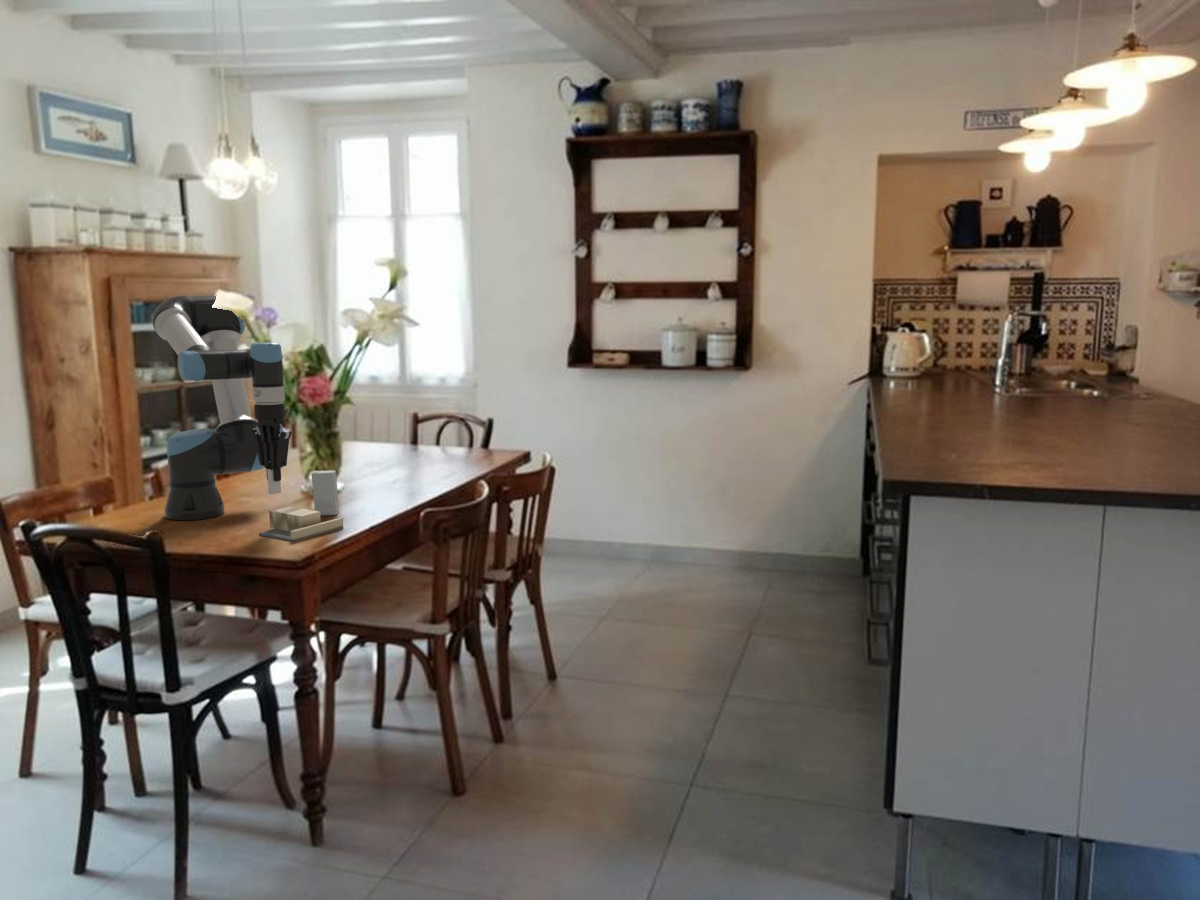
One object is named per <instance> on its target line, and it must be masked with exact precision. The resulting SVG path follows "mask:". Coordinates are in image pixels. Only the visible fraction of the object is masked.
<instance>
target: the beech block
mask: <svg viewBox="0 0 1200 900" xmlns="http://www.w3.org/2000/svg"><path fill="white" fill-rule="evenodd" d="M268 513H269V514H268V515H269V528H271V529H280V530H285V531H292V530H296V529H300V528H303V527H307V526H311V525H315V524H318V523H321V522H322V521H321V520H322V519H321V515H320V512H319V511H314V510H312V509H307V508H301V507H295V506H284V507H279V508H276V509H275V508H274V509H272V510H271V509H270V510H269V511H268Z"/></svg>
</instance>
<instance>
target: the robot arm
mask: <svg viewBox="0 0 1200 900" xmlns="http://www.w3.org/2000/svg"><path fill="white" fill-rule="evenodd" d="M216 296H217V295H177V296H173V297H170V298H167V299H166V300H164V301H162V302H161V303H160V304H159V305H158V306H157V307H156V309H155V310H154V312H153V314H152V325H153V326H152V327H153V329H154V331H155V333H157V335H158V336H159V337H160V338H161V339H162V340H163V341H167V343H168V344H169V345H170V347H171V348H172V349H173V351H174V352H175V353H176V355H177V369H178V373H179V377H180V378H181V379H182V380H183V381H188V382H189V381H191V382H193V381H194V382H201V381H211V382H212V388H213V392H214V393H213V395H214V399H215V403H216V409H217V413H218V418H219V424H218V425H217V426H216V427H215V433H214V432H213V430H212V428H209V427H208V428H205V427H204V428H196V429H188V430H184V431H180V432H177V433H174V434H172V435H170V436H169V437H168V438H167V440H166V456H167V466H168V469H167V470H168V477H169V478H168V480H169V491H168V492H169V493H168V496H167V500H166V503H165V507H164V517H165V519H168V520H173V521H195V520H203V519H204V520H206V519H210V518H214V517H218V516H221V515H223V514H225V503H224V502H223V498H222V497H221V494H220V491H219V489H218V488H217V483H216V482H217V481H216V480H217V479H216V476H217V475H225V474H235V473H236V474H237V473H244V472H245V473H247V472H248V473H251V472H253V471H259V470H263V469H264V468H265V469H266V480H267V484H268V485H267V487H268V494H269V495H276V494H281V493H282V486H281V481H282V470H281V469H282V468H284V467H287V464H288V455H289V445H290V439H291V436H292V430H287V429H286V428H285V424H284V418H285V417H286V404H285V403H283V402H284V401H286V397H285V396H286V395H285V385H284V384H285V383H284V367H283V358H284V355H283V351H282V346H281V344H280V343H279V342H269V341H267V342H253V343H251V344H250V347H249V348H245V349H238V345H237V344H238V342H240V340H241V338H242V336H241V335H243V334H244V332H245V325H246V324H245V320H244V321H243V320H242V319H240V317H237V316H236V315H235V314H234V313H233V312H232V311H229V310H223V309H217V308H212V305H213V304H214V302H215V300H216ZM245 379H251V380H252V392H253V395H252V396H253V402H254V403H255V404H254V406H253V413H254V417H252V412H251V408H250V402H249V397H248V392H247V389H246V384H245V383H246V382H245Z"/></svg>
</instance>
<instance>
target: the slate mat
mask: <svg viewBox="0 0 1200 900" xmlns="http://www.w3.org/2000/svg"><path fill="white" fill-rule="evenodd" d="M342 529H344V519H343V518H341V517H338V518H334V519H330V520H325V521H321V523H318V524H315V525H311V526H307V527H303V528H300V529H296V530H292V531H285V530H280V529H275V528H271V529H268V530H265V531H261V532H258V535H259V536H263V537H267V538H273V539H278V540H282V541H289V542H292V543H293V542H299V541H302V540H303V541H304V540H306V539H309V538H313V537H316V536H319V535H324V534H327V533H331V532H335V531H338V530H342Z"/></svg>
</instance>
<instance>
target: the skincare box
mask: <svg viewBox="0 0 1200 900" xmlns="http://www.w3.org/2000/svg"><path fill="white" fill-rule="evenodd" d="M337 482H338V479H337V471H336V470H314V471H313V472H312V473H311V484H312V495H313V497H312V498H313V507H314V508H313V509H314V510H313V511H319V512H320V516H336V515H338V514H339V513H340V509H339V506H340V505H339V497H338V496H339V494H338V493H339V491H338V483H337Z"/></svg>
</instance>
